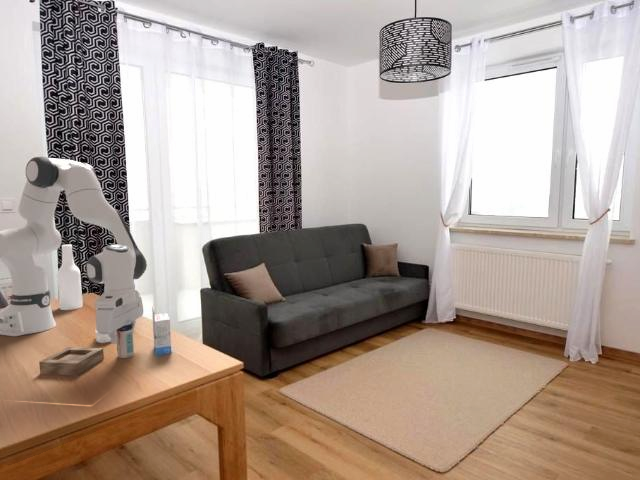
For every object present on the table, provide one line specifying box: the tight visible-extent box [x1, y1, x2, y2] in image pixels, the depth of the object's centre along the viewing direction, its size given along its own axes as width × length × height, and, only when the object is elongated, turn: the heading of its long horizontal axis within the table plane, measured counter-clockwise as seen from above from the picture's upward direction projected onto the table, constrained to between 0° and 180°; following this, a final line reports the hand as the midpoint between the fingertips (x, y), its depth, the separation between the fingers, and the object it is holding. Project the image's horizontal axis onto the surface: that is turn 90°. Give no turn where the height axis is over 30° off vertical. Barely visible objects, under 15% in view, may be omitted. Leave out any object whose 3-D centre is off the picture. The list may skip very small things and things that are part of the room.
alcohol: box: [56, 243, 84, 311], centre depth 190 cm, size 9×9×30 cm
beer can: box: [116, 320, 135, 359], centre depth 137 cm, size 5×5×12 cm
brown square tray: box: [38, 346, 105, 377], centre depth 129 cm, size 12×12×4 cm
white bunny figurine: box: [94, 328, 111, 344], centre depth 151 cm, size 6×8×12 cm
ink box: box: [151, 306, 172, 356], centre depth 141 cm, size 8×5×15 cm, turn 26°
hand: (123, 338), depth 136 cm, fingers open, 7 cm apart
